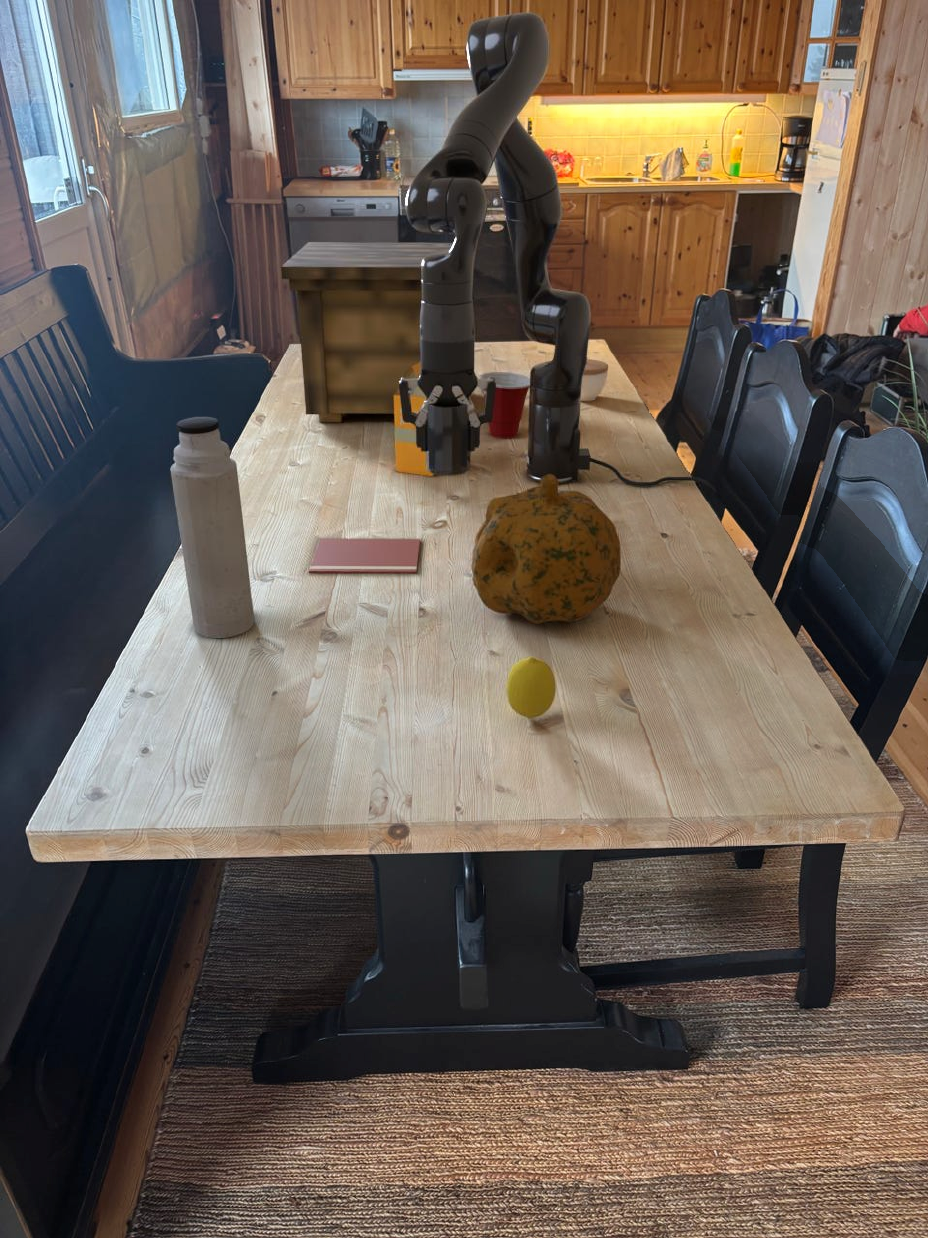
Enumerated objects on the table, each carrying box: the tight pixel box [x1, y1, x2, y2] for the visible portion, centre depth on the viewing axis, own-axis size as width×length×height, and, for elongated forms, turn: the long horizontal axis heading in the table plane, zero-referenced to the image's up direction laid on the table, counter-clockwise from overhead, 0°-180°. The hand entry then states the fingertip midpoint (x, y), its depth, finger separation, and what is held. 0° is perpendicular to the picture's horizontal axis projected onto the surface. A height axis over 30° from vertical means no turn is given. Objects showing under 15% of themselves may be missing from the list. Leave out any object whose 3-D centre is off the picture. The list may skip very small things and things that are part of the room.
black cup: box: [425, 398, 472, 476], centre depth 142 cm, size 6×6×10 cm
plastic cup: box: [479, 371, 530, 439], centre depth 202 cm, size 11×11×12 cm
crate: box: [280, 241, 454, 423], centre depth 216 cm, size 35×35×33 cm
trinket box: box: [581, 356, 609, 402], centre depth 227 cm, size 11×11×9 cm
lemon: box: [505, 656, 557, 720], centre depth 110 cm, size 6×6×8 cm
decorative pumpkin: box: [470, 474, 622, 625], centre depth 132 cm, size 20×21×20 cm
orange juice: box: [393, 362, 436, 477], centre depth 183 cm, size 8×9×20 cm
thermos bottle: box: [170, 416, 255, 639], centre depth 125 cm, size 8×8×28 cm
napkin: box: [308, 538, 421, 574], centre depth 151 cm, size 16×12×1 cm
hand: (448, 449), depth 143 cm, fingers closed on black cup, 6 cm apart
